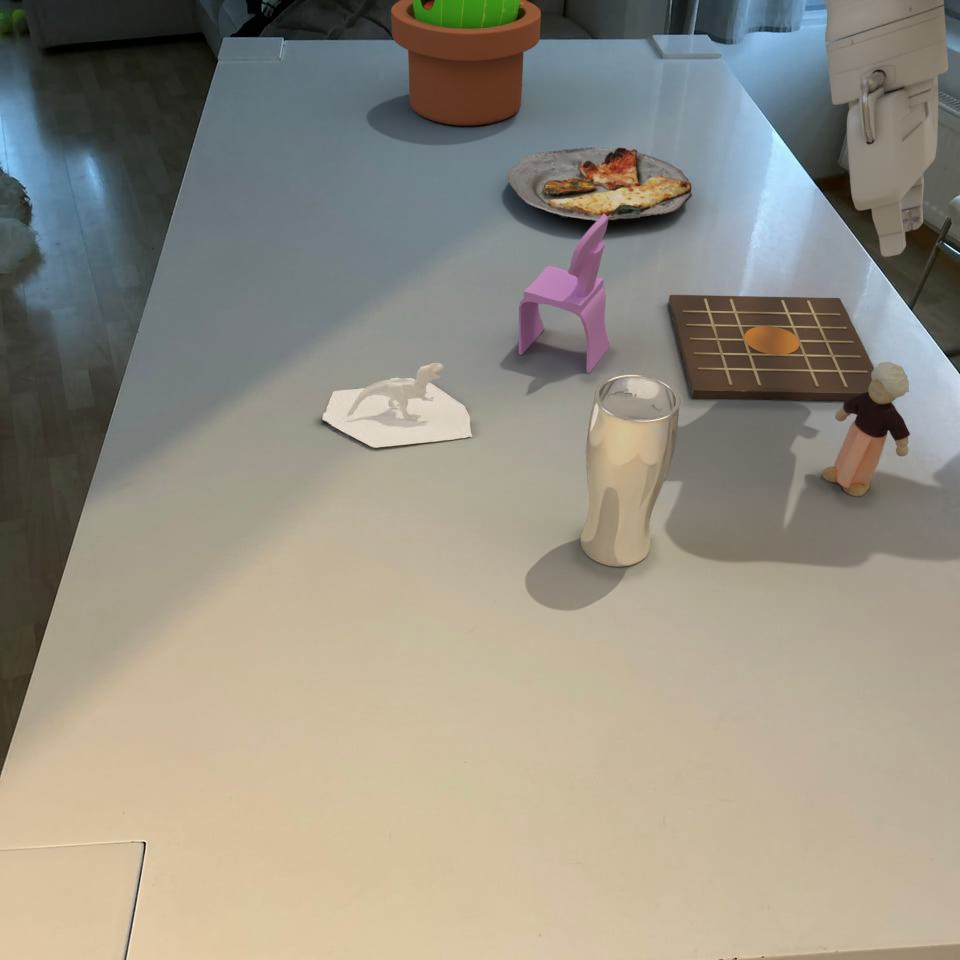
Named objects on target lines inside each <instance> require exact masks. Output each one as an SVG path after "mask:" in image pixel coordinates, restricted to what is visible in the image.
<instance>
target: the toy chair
mask: <svg viewBox="0 0 960 960" xmlns="http://www.w3.org/2000/svg"><path fill="white" fill-rule="evenodd" d="M608 223H609V220H608V217H607V216H606V215H605V214H603V215H602V216H601V217H600V218H599V220H598V221H595V222H594V223H593V224H592V225H591V226H590V228H589V229H588V230H587V231H586V232H585V233H584V235H583V236H582V237H581V238H580V240H579V241H578V243H577V245H576V246H575V248H574V250H573V253H572V256H571V260H570V265H569V268H568V270H566V269H563V268H559V267H556V266H551V265H547V267H545V268H544V269H543V270H542V272H541V273H540V275H538V277H537V278H536V279H535V280H534V281H533V282H532V283H531V284H529V285H528V286H527V288H526V289H524V291H523V298H522V299H521V300H520V302H519V305H518V355H521V356H522V355H523V354H525V352H526V351H527V350H528V349H529V348H530V346H531V345H532V344H533V343H534V342H535V341H536V340H537V339H538V337H539V336H540V335H541V334H542V333H543V331H544V330H545V326H544V323H543V320H542V318H541V313H540V308H539V307H540V306H539V304H540V305H541V304H542V305H547V306H552V307H555V308H558V309H561V310H564V311H567V312H570V313H573V314H574V315H577V316H578V317H579V319H580V321H581V323H582V326H583V330H584V333H585V341H586V367H585V369H586V371H585V372H586V373H587V374H590V373H591V372H592V371H593V369H594V368H595V367H596V365H597V364H598V363H599V362H600V361H601V359H602V357H603V356H604V355H605V354H606V353H607V351H608V350H609V348H611V343H610V340H609V337H608V334H607V330H606V322H605V321H606V319H605V316H606V315H605V314H606V301H607V300H606V299H607V294H606V290H605V288H604V278H602V277H598V273H599V269H600V265H601V261H602V257H603V253H604V249H605V246H606V243H605V242H602V241H603V239H604V236H605V234H606V231H607V227H608Z"/></svg>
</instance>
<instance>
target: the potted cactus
mask: <svg viewBox="0 0 960 960" xmlns="http://www.w3.org/2000/svg"><path fill="white" fill-rule="evenodd" d="M541 12H542V11H541V9H540V8H539V7H538V6H537V5H535V4H534V3H532V2H530V1H529V0H398V1H397V2H396V3H394V4H393V5H392V7H391V9H390V18H391V19H390V21H391V37H392V39H393V41H394V43H396V44H397V45H398V46H400V47H402V48H403V49H405V50H406V51H407V59H408V87H409V88H408V90H409V104H410V107H411V108H412V110H413V111H414V112H415V113H416V114H418V116H421V117H423V118H425V119H427V120H429V121H433V122H436V123H440V124H444V125H450V126H458V127H474V126H484V125H490V124H494V123H498V122H501V121H504V120H507V119H509V118H511V117H512V116H514V115H516V114H517V113H518V111H519V110H520V109H521V106H522V93H523V75H524V73H523V72H524V71H523V70H524V53H525V52H527V51H529V50H531V49H533V48H534V47H536V46H537V45H538V43H539V41H540V38H541V21H542V20H541V19H542V13H541Z"/></svg>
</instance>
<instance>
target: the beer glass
mask: <svg viewBox="0 0 960 960" xmlns="http://www.w3.org/2000/svg"><path fill="white" fill-rule="evenodd" d="M680 407H681V396H680V394H679V392H678V391H677V389H676V388H675V387H674V386H673V385H672V384H670V383H668V381H665V380H663V379H661V378H658V377H656V376H652V375H648V374H643V373H642V374H641V373H623V374H617V375H613V376H611V377H608V378H606V379H604V380H603V381H601V383H599V384H598V386H597V387H596V389H595V391H594V399H593V404H592V409H591V411H590V417H589V423H588V429H587V436H586V444H585V445H586V447H585V467H586V479H587V490H588V512H587V516H586V519H585V522H584V525H583V528H582V530H581V534H580V541H579V542H580V546H581V549H582V551H583V552H584V553H585V555H587V557H589V558H590V559H592V560H593V561H595V562H596V563H599V564H601V565H605V566H608V567H615V568H616V567H617V568H621V567H622V568H623V567H628V566H632V565H635V564H637V563H640V562H641V561H643V560H644V559H645V558H646V556H648V554H649V552H650V549H651V518H652V513H653V510H654V508H655V505H656V502H657V500H658V497H659V495H660V493H661V491H662V489H663V486H664V483H665V482H666V480H667V476H668V473H669V470H670V467H671V464H672V461H673V458H674V452H675V447H676V441H677V436H678V425H679V416H680V415H679V414H680Z"/></svg>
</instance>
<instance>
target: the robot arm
mask: <svg viewBox="0 0 960 960" xmlns="http://www.w3.org/2000/svg"><path fill="white" fill-rule="evenodd" d="M824 3H825V7H826V26H825V32H824V43H825V53H826V60H827V69H828V77H829V78H828V80H829V86H830V87H829V88H830V96H831V103H832V105H834V106H839V105H844V104H848V108H849V109H848V112H847V118H846V142H847V143H846V144H847V157H848V171H849V184H850V193H851V199H852V202H853V205H854V208H855V209H856V210H857V211H859V212H860V211H861V212H862V211H865V210H871V218H872V221H873V225H874V227H875V231H876V233H877V236H878V241H879V251H880V254H881V256H882V257H884V258H889V257H893V256H894V257H895V256H899V255H901V254H902V253H903V252H904V250H905V248H906V247H907V241H906V240H907V239H906V233H907V232H910V231H917V230H918V229H919V228H920V227H921V226H922V225H923V222H924V212H923V200H924V199H923V198H924V187H925V179H924V173H925V172H926V170H927V169H928V168H929V167H930V166H931V165H932V163H934V161H935V159H936V154H937V149H938V148H937V147H938V138H939V137H938V135H939V133H938V131H939V128H938V127H939V79H938V78H939V77H938V76H940V75H943V74H944V73H947V72H948V70H949V60H948V59H949V58H948V45H947V42H948V41H947V29H946V28H947V27H946V16H945V15H946V13H945V1H944V0H824Z"/></svg>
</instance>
